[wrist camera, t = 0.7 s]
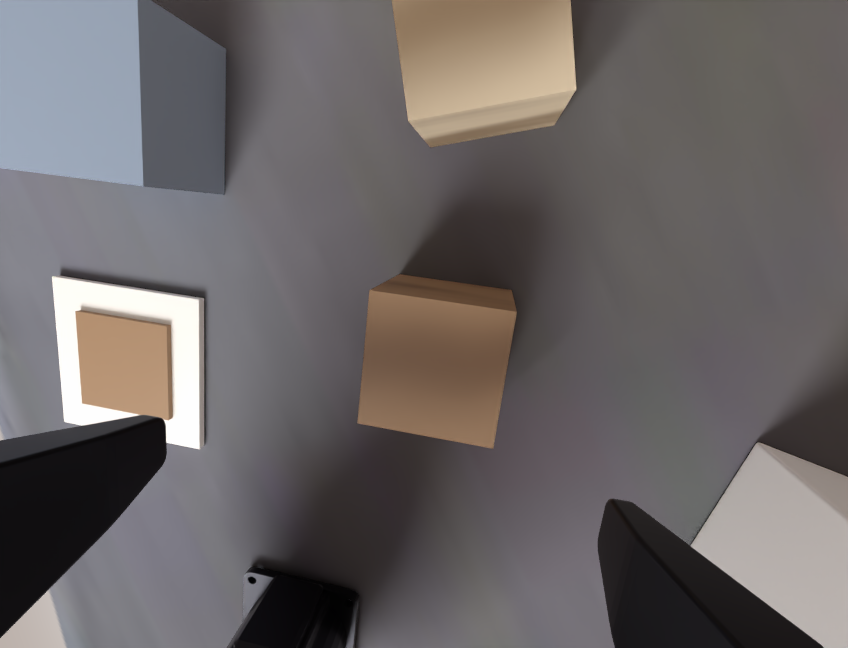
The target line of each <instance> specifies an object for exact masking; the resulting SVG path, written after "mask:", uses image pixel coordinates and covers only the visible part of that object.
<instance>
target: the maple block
mask: <svg viewBox="0 0 848 648" xmlns="http://www.w3.org/2000/svg"><path fill="white" fill-rule="evenodd" d="M392 5H393V13H394V20H395V27H396V34H397V42H398V49H399V56H400V64H401V71H402V78H403V86H404V93H405V100H406V107H407V115H408V121H409V123H410V124H411V125H412V126H413V127H414V129H415V130H416V131H417V132H418V133H419V134H420V136H421V137H422V138H423V139H424V140H425V142H426V143H427V144H428V145H429V146H430V147H436V146H441V145H447V144H453V143H458V142H464V141H469V140H475V139H481V138H486V137H492V136H498V135H503V134H509V133H514V132H520V131H526V130H531V129H537V128H543V127H548V126H554V125H555V123H556V122H557V120H558V118H559V117H560V115H561V113H562V112H563V110H564V109H565V107H566V105H567V104H568V102H569V101H570V99H571V97H572V96H573V94H574V92H575V91H576V76H575V61H574V45H573V30H572V14H571V0H392Z"/></svg>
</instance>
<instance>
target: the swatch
mask: <svg viewBox="0 0 848 648" xmlns="http://www.w3.org/2000/svg"><path fill="white" fill-rule="evenodd" d="M52 281H53V293H54V305H55V317H56V329H57V340H58V352H59V364H60V376H61V387H62V399H63V411H64V422H68V423H73V424H77V425H82V426H83V425H89V424H94V423H100V422H105V421H111V420H116V419H122V418H127V417H133V416H138V415H150V416H155V417H160V418H162V419H163V420H164V421H165V424H166V443H171V444H176V445H181V446H186V447H191V448H196V449H200V448H202V447H203V446H204V298H199V297H193V296H187V295H180V294H174V293H167V292H161V291H155V290H148V289H142V288H136V287H129V286H123V285H116V284H110V283H104V282H97V281H91V280H85V279H78V278H72V277H65V276H52Z"/></svg>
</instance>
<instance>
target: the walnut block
mask: <svg viewBox="0 0 848 648" xmlns="http://www.w3.org/2000/svg"><path fill="white" fill-rule="evenodd" d="M516 314H517V310H516V306H515V302H514V298H513V294H512V290H508V289H501V288H494V287H487V286H480V285H473V284H465V283H458V282H451V281H444V280H437V279H430V278H423V277H416V276H409V275H402V274H399V275H397V276H395V277H393V278H392V279H390V280H388V281H386V282H384V283H382V284H380V285H378V286H377V287H375V288H373V289H371V290H370V291H369V302H368V313H367V324H366V335H365V346H364V357H363V368H362V379H361V390H360V401H359V412H358V424H364V425H369V426H374V427H380V428H385V429H390V430H396V431H401V432H407V433H412V434H417V435H423V436H428V437H433V438H439V439H444V440H449V441H455V442H460V443H466V444H471V445H476V446H482V447H487V448H492V449H493V446H494V440H495V435H496V429H497V423H498V417H499V412H500V406H501V400H502V394H503V389H504V383H505V377H506V371H507V366H508V360H509V354H510V348H511V343H512V337H513V331H514V325H515V320H516Z"/></svg>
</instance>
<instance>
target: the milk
mask: <svg viewBox="0 0 848 648" xmlns="http://www.w3.org/2000/svg"><path fill="white" fill-rule="evenodd" d="M691 547H692V548H693V549H695V550H696V551H697V552H699V553H700V554H701V555H703V556H704V557H705V558H707V559H708V560H709V561H711V562H712V563H713V564H715V565H716V566H717V567H719V568H720V569H721V570H723V571H724V572H725V573H727V574H728V575H729V576H731V577H732V578H733V579H735V580H736V581H737V582H739V583H740V584H741V585H743V586H744V587H745V588H747V589H748V590H749V591H751V592H752V593H753V594H755V595H756V596H757V597H759V598H760V599H761V600H763V601H764V602H765V603H766V604H768V605H769V606H770V607H772V608H773V609H774V610H776V611H777V612H778V613H780V614H781V615H782V616H784V617H785V618H786V619H788V620H789V621H790V622H792V623H793V624H794V625H796V626H797V627H798V628H800V629H801V630H802V631H804V632H805V633H806V634H808V635H809V636H810V637H812V638H813V639H814V640H816V641H817V642H818V643H820V644H821V645H822V646H823V647H824V648H848V477H847V476H844V475H842V474H839V473H836V472H834V471H831V470H829V469H826V468H824V467H821V466H819V465H816V464H813V463H811V462H808V461H806V460H803V459H801V458H798V457H796V456H793V455H790V454H788V453H785V452H783V451H780V450H778V449H775V448H772V447H770V446H767V445H765V444H762V443H756V444H755V446H754V447H753V449H752V450H751V452H750V454H749V455H748V457H747V458H746V460H745V461H744V463H743V465H742V466H741V468H740V469H739V471H738V472H737V474H736V475H735V477H734V479H733V480H732V482H731V483H730V485H729V486H728V488H727V490H726V491H725V493H724V494H723V496H722V497H721V499H720V500H719V502H718V504H717V505H716V507H715V508H714V510H713V511H712V513H711V515H710V516H709V518H708V519H707V521H706V522H705V524H704V525H703V527H702V529H701V530H700V532H699V533H698V535H697V536H696V538H695V540H694V541H693V543H692V544H691Z"/></svg>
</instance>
